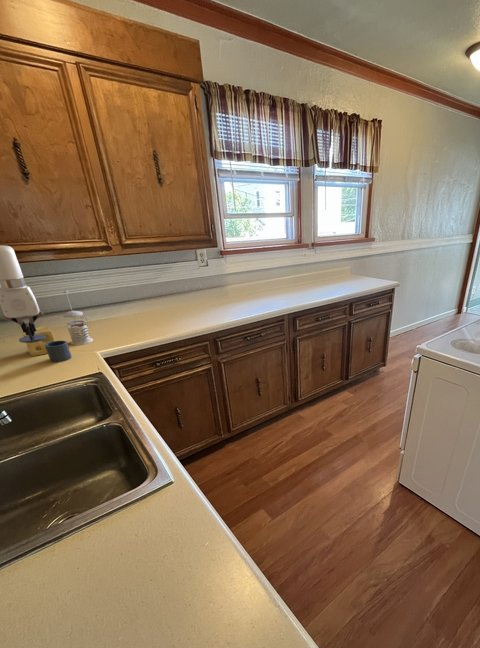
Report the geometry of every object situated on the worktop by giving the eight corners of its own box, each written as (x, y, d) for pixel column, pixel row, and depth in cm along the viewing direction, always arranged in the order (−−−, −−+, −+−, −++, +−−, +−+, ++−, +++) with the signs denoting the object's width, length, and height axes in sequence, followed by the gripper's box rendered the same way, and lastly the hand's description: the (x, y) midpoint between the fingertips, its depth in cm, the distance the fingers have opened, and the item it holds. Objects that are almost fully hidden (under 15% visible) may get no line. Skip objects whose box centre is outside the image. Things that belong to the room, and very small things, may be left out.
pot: (50, 364, 136) (44, 348, 132) (51, 358, 142) (45, 342, 138) (72, 361, 140) (66, 344, 136) (71, 355, 145) (66, 339, 142)
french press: (65, 343, 159) (47, 291, 147) (86, 336, 168) (71, 286, 157) (80, 346, 156) (62, 293, 144) (100, 338, 165) (86, 288, 154)
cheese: (31, 357, 143) (22, 335, 139) (28, 350, 150) (20, 329, 146) (59, 351, 149) (51, 330, 145) (55, 345, 157) (48, 325, 152)
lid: (18, 345, 119) (12, 329, 116) (20, 339, 125) (14, 323, 122) (46, 341, 123) (40, 326, 120) (46, 335, 129) (41, 320, 126)
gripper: (-19, 287, 108) (3, 340, 116) (38, 283, 115) (55, 333, 124) (-15, 283, 113) (6, 334, 122) (39, 280, 121) (55, 328, 129)
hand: (30, 333), depth 123 cm, fingers closed on lid, 1 cm apart
